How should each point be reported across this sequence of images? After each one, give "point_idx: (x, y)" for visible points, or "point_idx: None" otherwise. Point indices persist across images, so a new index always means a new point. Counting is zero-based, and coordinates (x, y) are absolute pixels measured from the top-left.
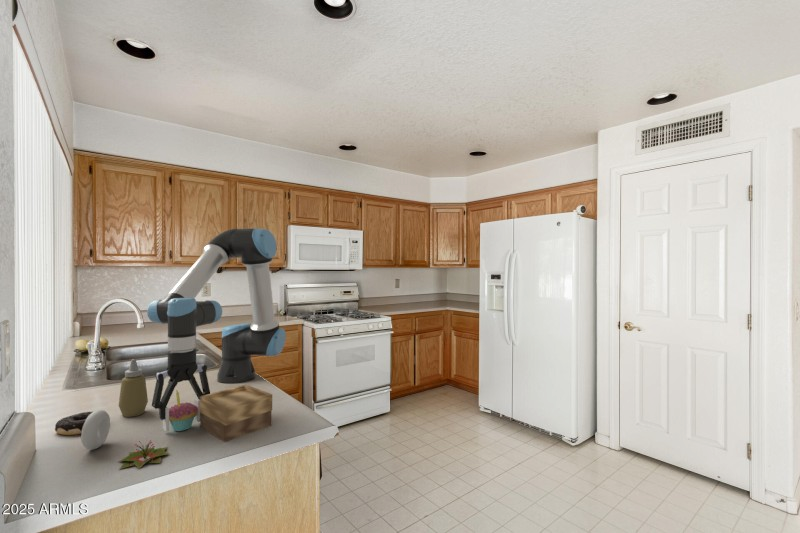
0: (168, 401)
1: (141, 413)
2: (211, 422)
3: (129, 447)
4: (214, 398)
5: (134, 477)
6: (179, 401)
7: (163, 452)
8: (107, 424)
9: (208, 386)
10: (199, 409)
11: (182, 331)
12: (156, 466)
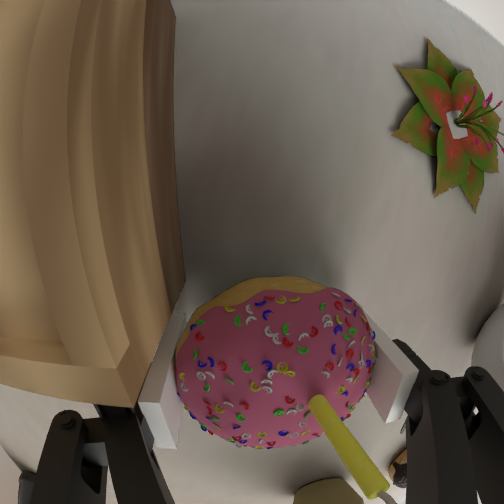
0: (431, 412)
1: (309, 484)
2: (155, 121)
3: (459, 265)
4: (22, 301)
5: (473, 43)
6: (332, 425)
7: (417, 92)
8: (499, 373)
9: (40, 471)
10: (164, 355)
11: None
12: (435, 38)
